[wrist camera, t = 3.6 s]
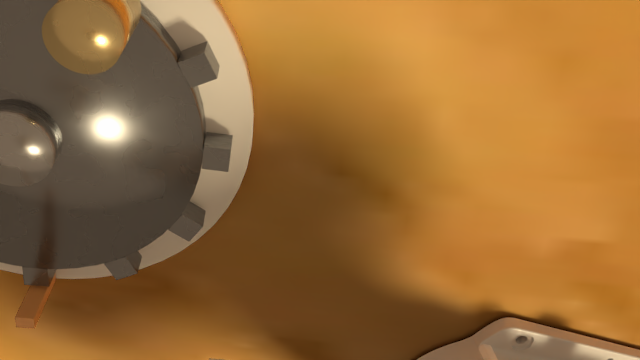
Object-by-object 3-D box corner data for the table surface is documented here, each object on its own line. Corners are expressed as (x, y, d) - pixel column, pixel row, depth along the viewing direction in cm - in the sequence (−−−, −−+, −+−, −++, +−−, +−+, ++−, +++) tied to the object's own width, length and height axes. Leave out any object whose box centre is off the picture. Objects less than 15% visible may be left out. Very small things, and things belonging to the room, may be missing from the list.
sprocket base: (282, -79, 28) (282, -50, 24) (232, 279, 41) (226, 343, 36) (-270, -180, 25) (-392, -169, 20) (-139, 244, 38) (-196, 310, 33)
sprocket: (254, -49, 27) (249, -13, 23) (215, 284, 39) (206, 352, 34) (-264, -140, 24) (-389, -119, 20) (-141, 251, 36) (-202, 321, 31)
